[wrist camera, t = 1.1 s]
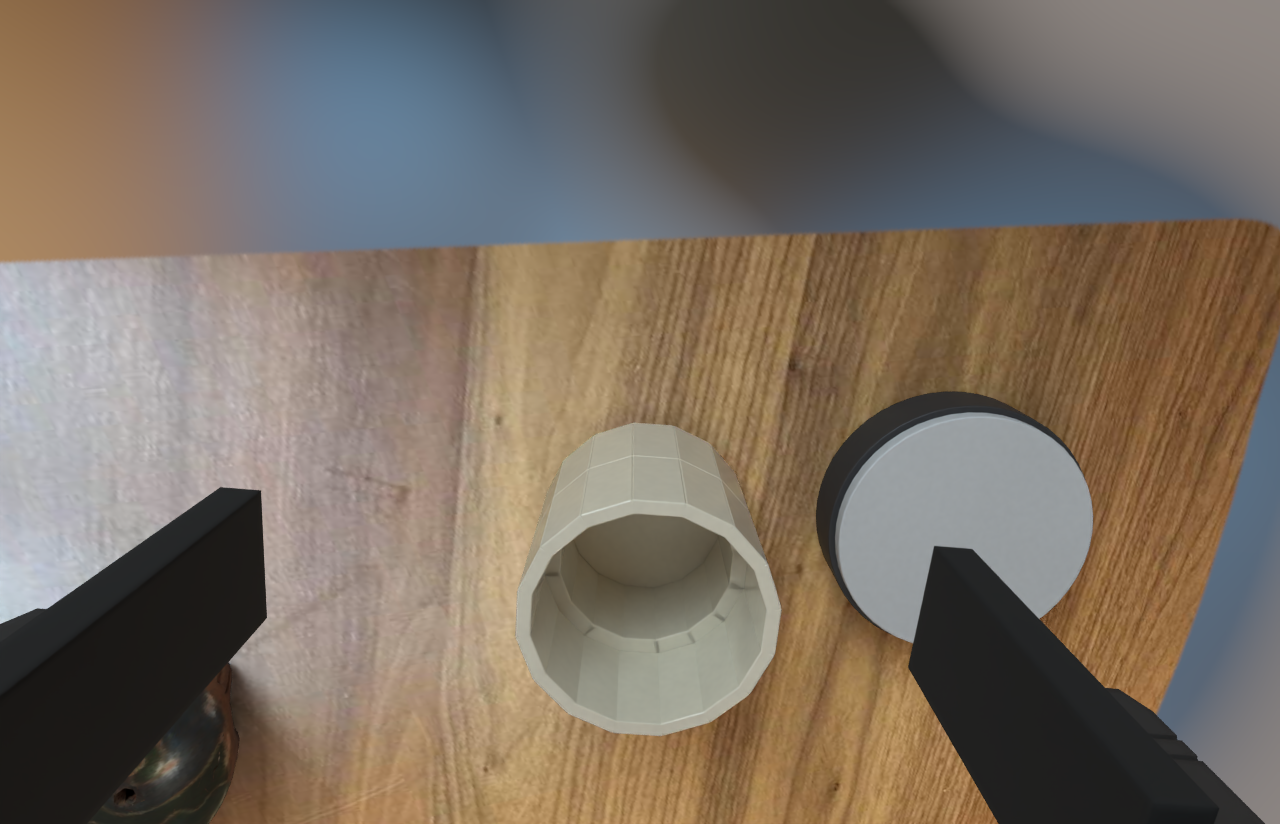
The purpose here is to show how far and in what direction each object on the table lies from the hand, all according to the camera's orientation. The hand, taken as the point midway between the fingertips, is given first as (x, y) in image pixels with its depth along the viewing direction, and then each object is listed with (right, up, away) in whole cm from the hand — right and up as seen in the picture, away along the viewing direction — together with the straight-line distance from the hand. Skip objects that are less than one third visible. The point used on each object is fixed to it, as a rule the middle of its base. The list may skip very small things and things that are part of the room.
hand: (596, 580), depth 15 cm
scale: (+17, -2, +26) cm, 31 cm away
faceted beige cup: (+1, -2, +26) cm, 26 cm away
